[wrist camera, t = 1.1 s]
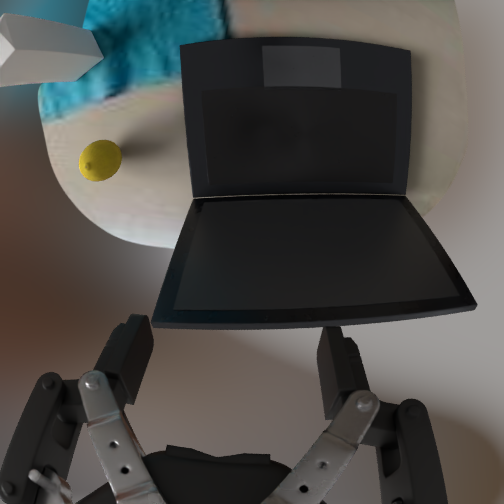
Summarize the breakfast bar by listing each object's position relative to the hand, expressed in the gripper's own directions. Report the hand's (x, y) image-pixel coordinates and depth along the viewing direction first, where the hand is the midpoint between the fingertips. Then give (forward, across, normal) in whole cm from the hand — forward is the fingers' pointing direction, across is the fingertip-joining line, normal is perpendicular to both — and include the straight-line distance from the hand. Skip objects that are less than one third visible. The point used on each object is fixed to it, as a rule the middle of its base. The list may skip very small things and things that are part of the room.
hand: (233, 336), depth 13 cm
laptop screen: (+18, -7, +4) cm, 20 cm away
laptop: (+30, -6, -8) cm, 32 cm away
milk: (+31, +26, -19) cm, 44 cm away
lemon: (+30, +20, -3) cm, 37 cm away
